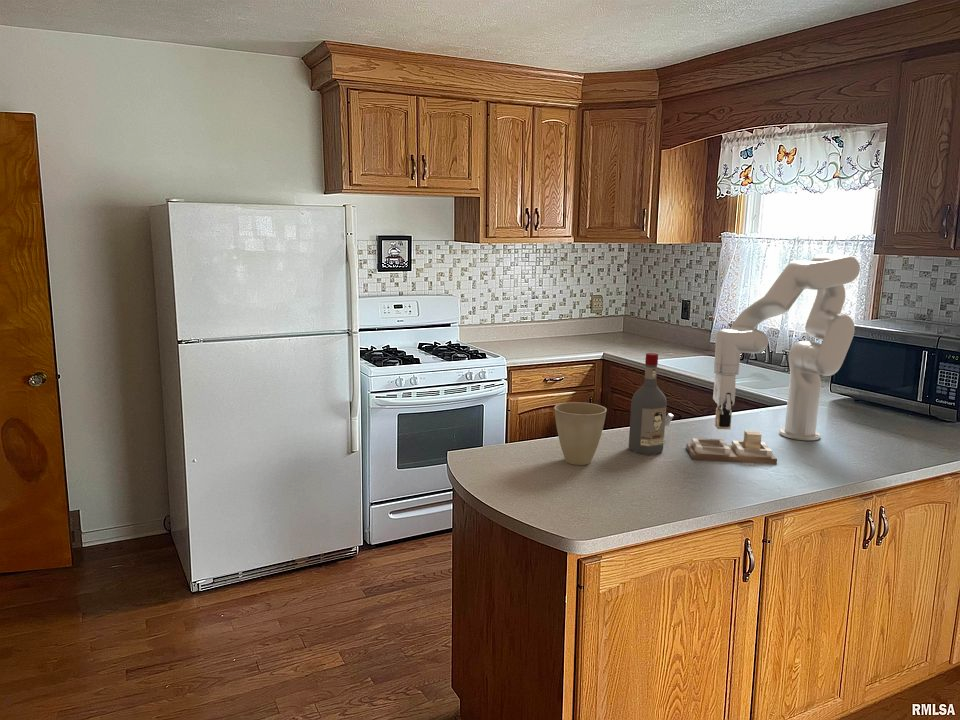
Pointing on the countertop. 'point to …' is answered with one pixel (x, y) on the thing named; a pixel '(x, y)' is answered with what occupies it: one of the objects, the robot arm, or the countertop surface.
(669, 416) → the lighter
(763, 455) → the board
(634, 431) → the liquor
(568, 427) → the plant pot
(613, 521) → the countertop surface
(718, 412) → the tan wooden block
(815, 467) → the countertop surface
